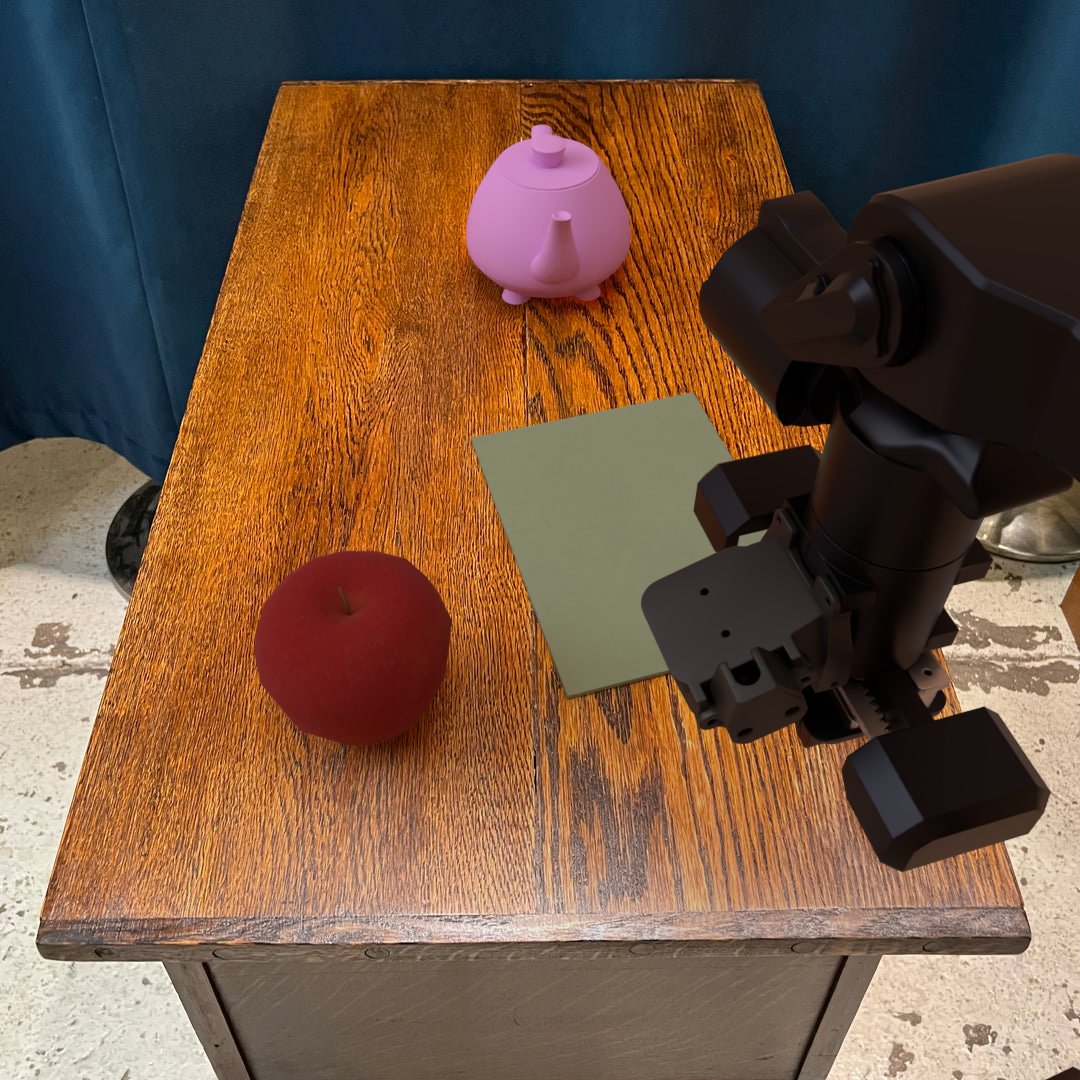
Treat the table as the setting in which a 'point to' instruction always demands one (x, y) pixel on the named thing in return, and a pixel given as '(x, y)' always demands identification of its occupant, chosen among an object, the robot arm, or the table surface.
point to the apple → (353, 646)
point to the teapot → (548, 220)
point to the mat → (603, 526)
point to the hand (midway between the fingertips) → (810, 739)
